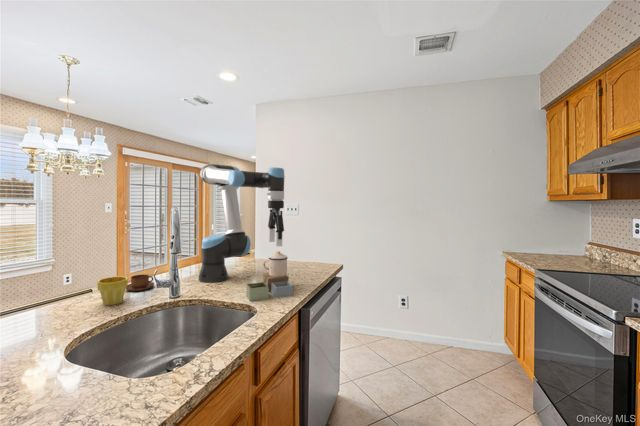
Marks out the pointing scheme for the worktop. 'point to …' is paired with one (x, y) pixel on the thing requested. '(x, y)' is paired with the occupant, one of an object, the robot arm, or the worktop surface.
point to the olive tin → (257, 291)
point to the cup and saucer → (140, 283)
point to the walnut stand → (273, 280)
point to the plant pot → (112, 289)
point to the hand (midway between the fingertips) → (275, 244)
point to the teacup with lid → (277, 265)
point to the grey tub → (282, 289)
